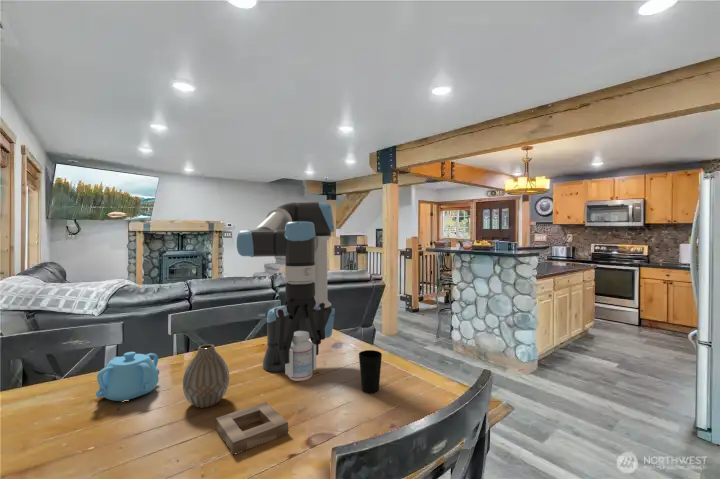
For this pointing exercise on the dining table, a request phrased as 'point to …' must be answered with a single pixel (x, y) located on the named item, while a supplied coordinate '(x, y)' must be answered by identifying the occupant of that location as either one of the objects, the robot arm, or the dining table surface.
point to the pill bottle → (301, 356)
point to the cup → (370, 370)
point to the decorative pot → (128, 377)
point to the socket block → (255, 436)
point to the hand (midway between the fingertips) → (301, 371)
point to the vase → (205, 377)
